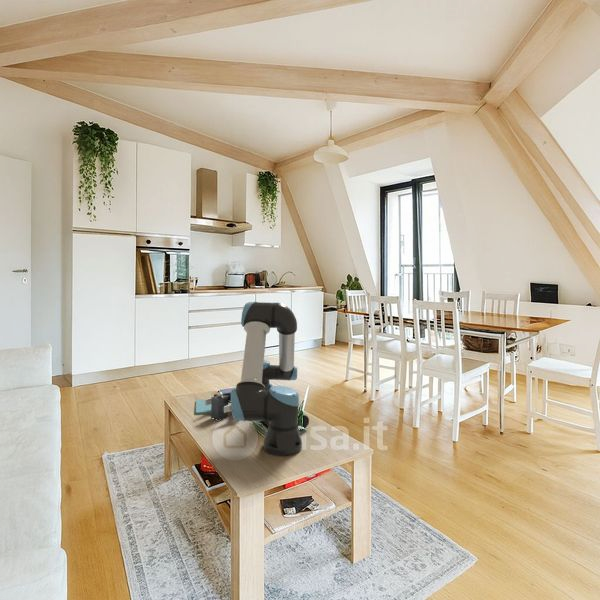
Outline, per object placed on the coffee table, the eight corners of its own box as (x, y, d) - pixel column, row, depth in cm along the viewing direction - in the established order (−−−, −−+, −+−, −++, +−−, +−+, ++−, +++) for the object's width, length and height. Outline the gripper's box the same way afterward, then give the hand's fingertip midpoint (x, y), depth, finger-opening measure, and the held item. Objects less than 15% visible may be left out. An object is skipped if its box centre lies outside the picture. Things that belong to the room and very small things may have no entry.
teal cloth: (221, 412, 180) (221, 410, 180) (195, 414, 177) (195, 412, 176) (219, 400, 197) (219, 398, 197) (196, 401, 194) (196, 399, 194)
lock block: (218, 421, 170) (218, 395, 169) (211, 418, 173) (211, 393, 172) (228, 417, 174) (228, 392, 174) (221, 414, 177) (221, 390, 177)
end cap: (309, 429, 164) (309, 414, 164) (295, 432, 160) (296, 417, 160) (296, 421, 173) (297, 407, 172) (283, 424, 169) (284, 409, 168)
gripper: (266, 408, 180) (232, 421, 163) (231, 396, 195) (198, 407, 179) (266, 393, 179) (232, 404, 163) (232, 382, 195) (198, 391, 178)
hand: (214, 405), depth 171 cm, fingers open, 13 cm apart
